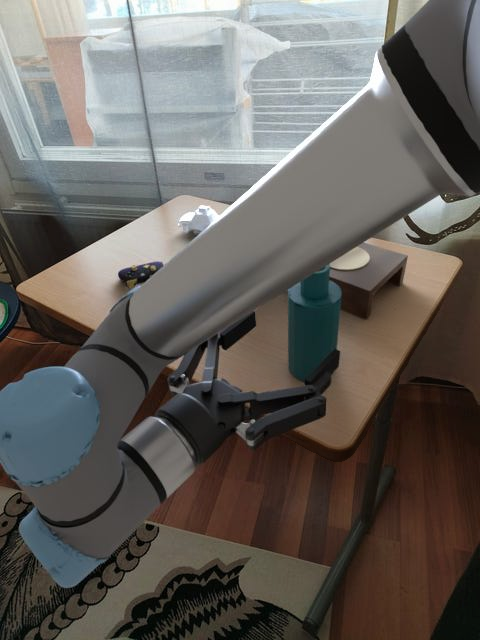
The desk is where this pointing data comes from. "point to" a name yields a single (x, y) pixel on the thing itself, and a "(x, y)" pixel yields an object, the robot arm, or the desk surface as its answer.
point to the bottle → (312, 322)
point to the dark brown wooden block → (365, 276)
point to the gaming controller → (139, 273)
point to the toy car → (198, 219)
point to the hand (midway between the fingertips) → (292, 336)
